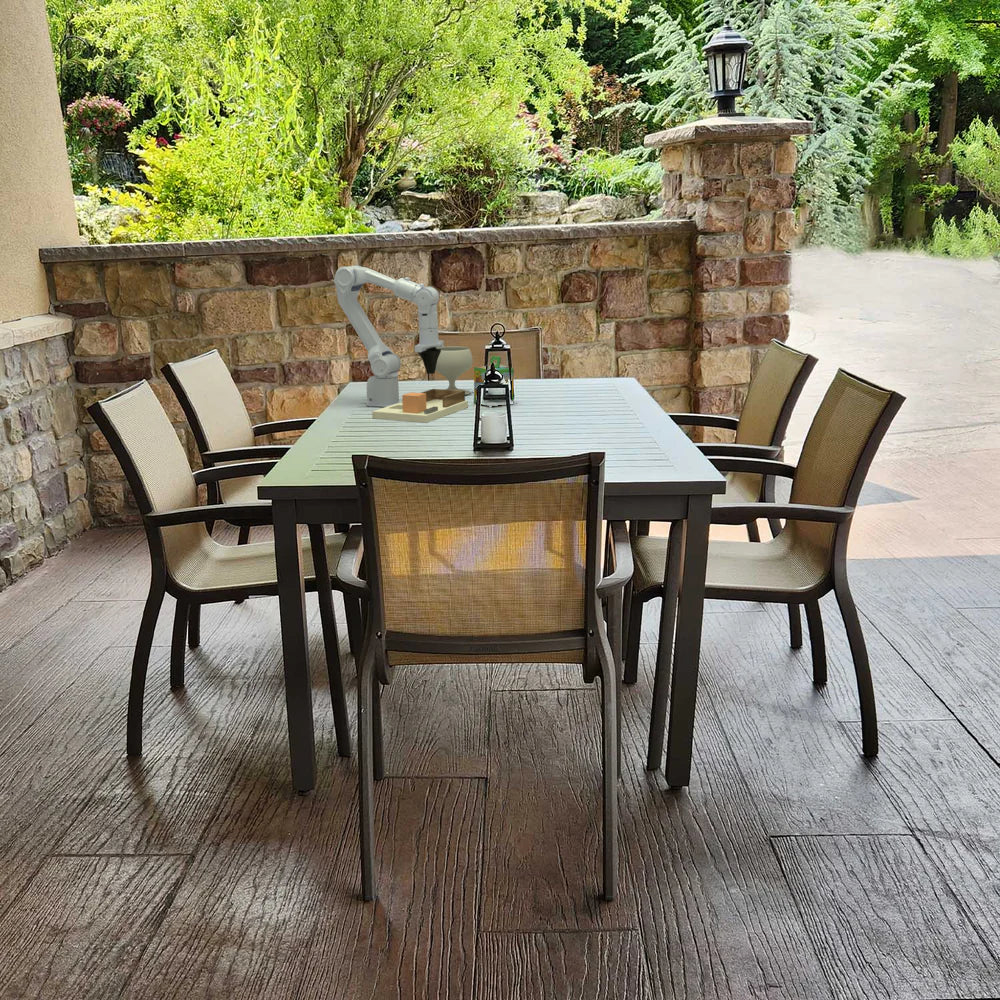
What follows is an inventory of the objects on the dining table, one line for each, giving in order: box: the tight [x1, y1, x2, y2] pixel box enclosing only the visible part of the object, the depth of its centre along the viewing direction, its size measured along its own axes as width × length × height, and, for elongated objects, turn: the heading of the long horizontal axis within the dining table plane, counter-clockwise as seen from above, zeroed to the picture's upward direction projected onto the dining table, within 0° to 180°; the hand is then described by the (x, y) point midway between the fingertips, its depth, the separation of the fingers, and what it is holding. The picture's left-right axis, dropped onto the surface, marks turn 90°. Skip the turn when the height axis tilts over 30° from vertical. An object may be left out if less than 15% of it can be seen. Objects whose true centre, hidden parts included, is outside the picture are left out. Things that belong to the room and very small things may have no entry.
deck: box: [371, 399, 469, 424], centre depth 299 cm, size 18×26×2 cm
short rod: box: [424, 406, 438, 414], centre depth 288 cm, size 1×6×1 cm, turn 155°
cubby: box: [420, 388, 466, 408], centre depth 303 cm, size 11×12×3 cm
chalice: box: [435, 345, 474, 396], centre depth 329 cm, size 14×14×15 cm
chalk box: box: [473, 355, 515, 405], centre depth 310 cm, size 9×9×15 cm
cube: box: [401, 392, 427, 413], centre depth 290 cm, size 5×5×5 cm
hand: (430, 373), depth 305 cm, fingers closed
